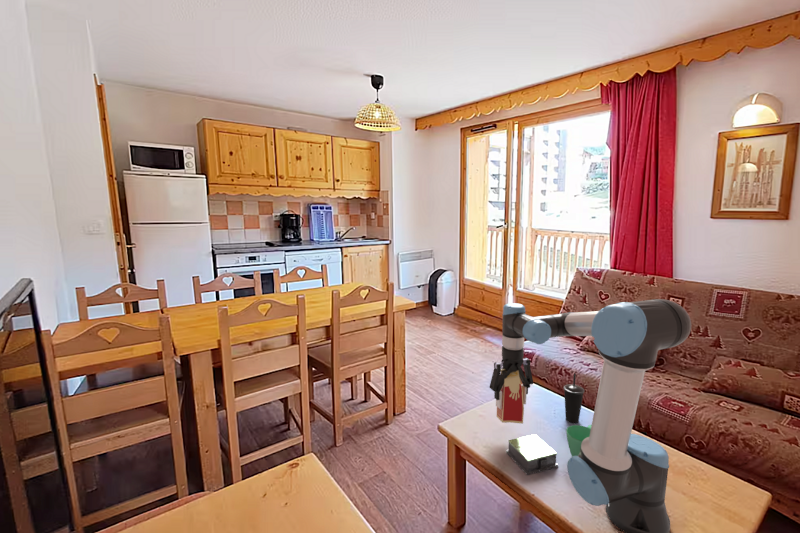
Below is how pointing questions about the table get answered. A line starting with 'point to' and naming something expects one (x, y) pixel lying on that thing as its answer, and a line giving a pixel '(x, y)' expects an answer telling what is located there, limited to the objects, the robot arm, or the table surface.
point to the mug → (577, 437)
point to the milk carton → (511, 400)
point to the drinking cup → (573, 401)
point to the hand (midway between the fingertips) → (511, 404)
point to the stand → (532, 454)
